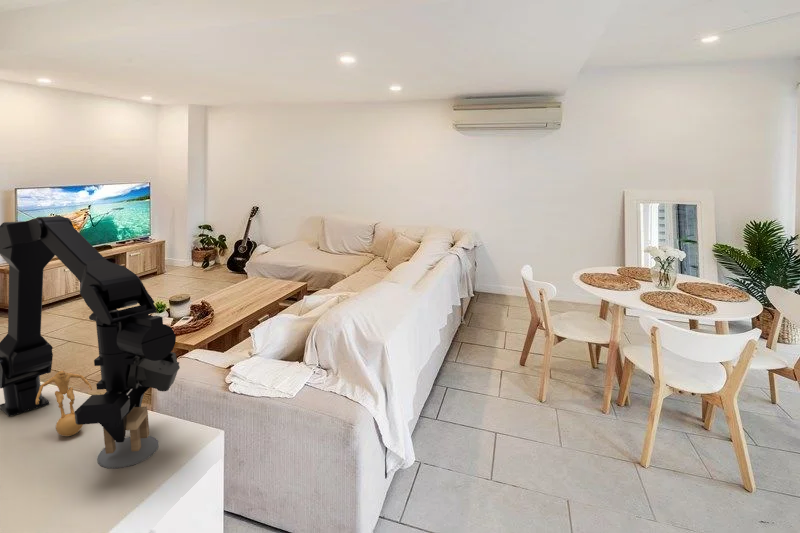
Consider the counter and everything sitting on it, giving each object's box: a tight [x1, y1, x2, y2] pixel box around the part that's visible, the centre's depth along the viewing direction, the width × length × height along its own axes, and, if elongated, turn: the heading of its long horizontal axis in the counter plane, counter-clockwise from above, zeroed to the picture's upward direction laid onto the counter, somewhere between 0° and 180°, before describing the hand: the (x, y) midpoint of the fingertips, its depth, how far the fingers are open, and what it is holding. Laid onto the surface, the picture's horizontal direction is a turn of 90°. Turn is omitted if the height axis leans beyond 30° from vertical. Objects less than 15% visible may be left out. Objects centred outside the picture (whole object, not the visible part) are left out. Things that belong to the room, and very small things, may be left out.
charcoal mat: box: [97, 435, 159, 469], centre depth 74 cm, size 9×9×1 cm
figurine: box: [36, 370, 93, 437], centre depth 78 cm, size 8×6×12 cm
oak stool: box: [102, 406, 150, 454], centre depth 73 cm, size 5×5×6 cm
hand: (127, 433), depth 74 cm, fingers closed on oak stool, 5 cm apart
